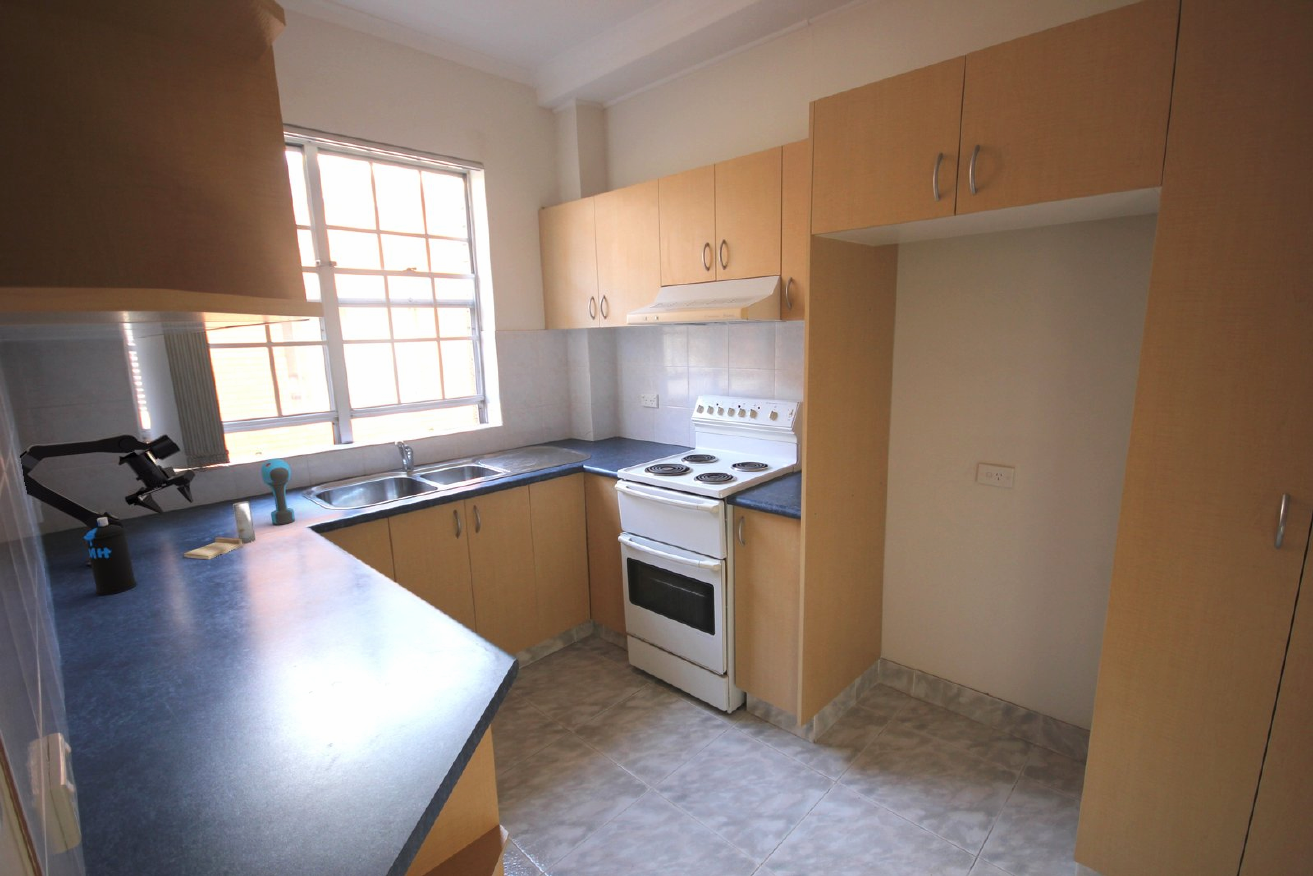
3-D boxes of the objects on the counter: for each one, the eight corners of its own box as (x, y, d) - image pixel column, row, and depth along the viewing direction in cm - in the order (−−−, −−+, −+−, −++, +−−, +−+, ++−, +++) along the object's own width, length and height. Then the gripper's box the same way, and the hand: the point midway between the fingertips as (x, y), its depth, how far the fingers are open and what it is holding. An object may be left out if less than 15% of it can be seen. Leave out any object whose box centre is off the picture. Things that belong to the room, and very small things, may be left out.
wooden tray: (208, 559, 177) (207, 551, 177) (184, 557, 180) (183, 549, 180) (242, 546, 188) (241, 538, 187) (219, 544, 190) (217, 537, 190)
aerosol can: (124, 581, 163) (110, 512, 159) (144, 584, 160) (130, 514, 157) (88, 593, 155) (72, 522, 151) (109, 597, 152) (93, 524, 149)
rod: (246, 544, 190) (239, 505, 188) (235, 543, 191) (229, 505, 189) (258, 539, 194) (252, 501, 192) (248, 538, 196) (242, 501, 193)
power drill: (262, 514, 223) (253, 455, 219) (288, 509, 229) (280, 451, 225) (273, 531, 202) (263, 466, 198) (302, 525, 208) (292, 461, 204)
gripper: (186, 447, 192) (215, 485, 199) (126, 469, 189) (157, 507, 196) (172, 461, 183) (203, 500, 190) (108, 484, 179) (143, 524, 187)
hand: (177, 507), depth 191 cm, fingers open, 9 cm apart
